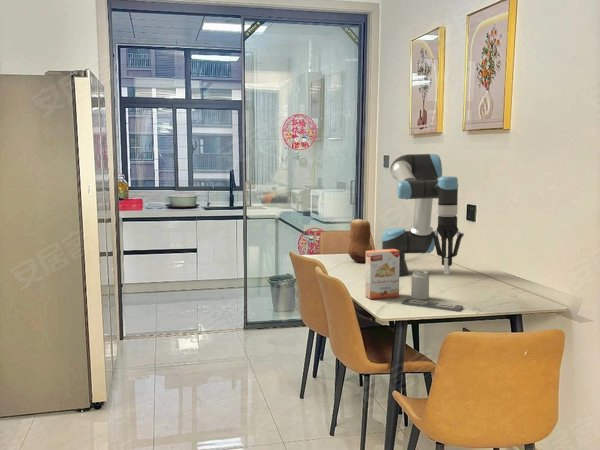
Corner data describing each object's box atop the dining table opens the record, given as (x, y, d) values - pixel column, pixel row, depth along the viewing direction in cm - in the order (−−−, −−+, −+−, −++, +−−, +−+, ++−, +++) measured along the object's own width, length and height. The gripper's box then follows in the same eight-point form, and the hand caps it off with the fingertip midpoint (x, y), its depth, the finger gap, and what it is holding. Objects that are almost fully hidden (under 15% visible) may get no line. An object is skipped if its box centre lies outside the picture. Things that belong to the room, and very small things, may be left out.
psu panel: (406, 300, 239) (407, 298, 239) (463, 307, 226) (463, 305, 226) (401, 303, 234) (401, 301, 234) (458, 311, 221) (458, 309, 221)
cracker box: (370, 300, 241) (370, 252, 238) (365, 296, 247) (364, 250, 244) (400, 297, 245) (400, 250, 242) (393, 293, 251) (394, 248, 248)
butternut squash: (372, 259, 327) (372, 217, 324) (373, 264, 314) (372, 220, 311) (348, 259, 329) (348, 217, 325) (348, 264, 316) (347, 220, 312)
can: (431, 298, 242) (432, 271, 240) (424, 302, 236) (424, 274, 234) (416, 295, 247) (416, 269, 245) (408, 299, 241) (408, 272, 239)
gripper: (466, 215, 222) (465, 273, 225) (434, 213, 229) (434, 269, 232) (461, 217, 215) (460, 276, 219) (428, 215, 222) (428, 273, 225)
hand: (446, 273), depth 225 cm, fingers closed
